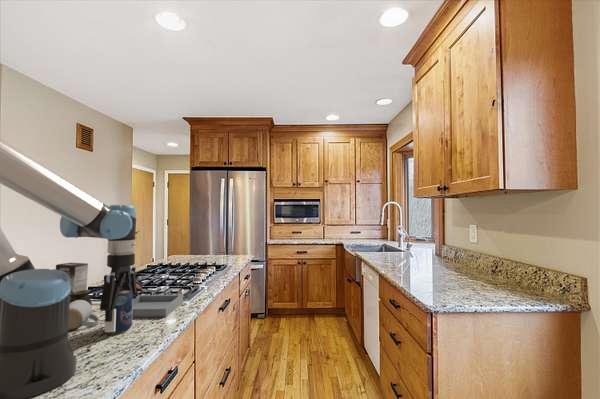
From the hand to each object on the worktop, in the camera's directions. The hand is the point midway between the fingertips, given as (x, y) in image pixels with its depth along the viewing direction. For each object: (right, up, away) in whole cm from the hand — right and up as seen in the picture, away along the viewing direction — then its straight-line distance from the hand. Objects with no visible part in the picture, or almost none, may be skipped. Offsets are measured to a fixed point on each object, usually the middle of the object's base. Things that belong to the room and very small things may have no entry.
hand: (119, 325), depth 92 cm
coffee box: (-37, -3, +27) cm, 45 cm away
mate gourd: (-24, -2, +15) cm, 28 cm away
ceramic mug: (-15, -2, +3) cm, 16 cm away
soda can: (0, -2, 0) cm, 2 cm away
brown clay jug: (-16, -3, +35) cm, 38 cm away
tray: (0, -2, +20) cm, 20 cm away
